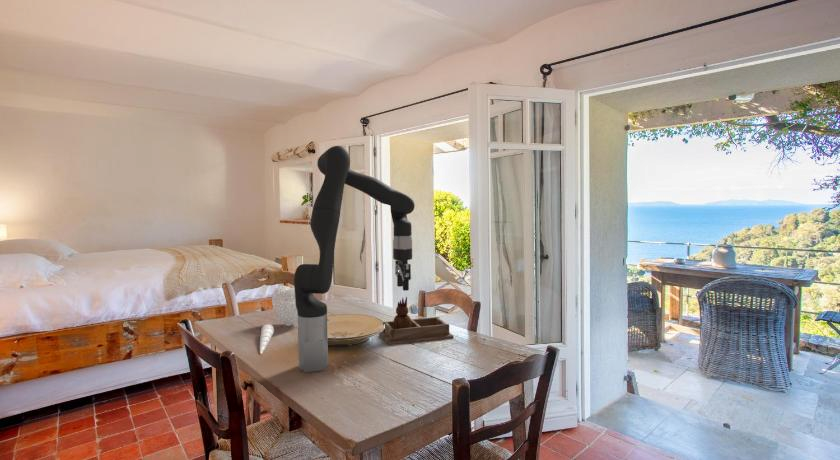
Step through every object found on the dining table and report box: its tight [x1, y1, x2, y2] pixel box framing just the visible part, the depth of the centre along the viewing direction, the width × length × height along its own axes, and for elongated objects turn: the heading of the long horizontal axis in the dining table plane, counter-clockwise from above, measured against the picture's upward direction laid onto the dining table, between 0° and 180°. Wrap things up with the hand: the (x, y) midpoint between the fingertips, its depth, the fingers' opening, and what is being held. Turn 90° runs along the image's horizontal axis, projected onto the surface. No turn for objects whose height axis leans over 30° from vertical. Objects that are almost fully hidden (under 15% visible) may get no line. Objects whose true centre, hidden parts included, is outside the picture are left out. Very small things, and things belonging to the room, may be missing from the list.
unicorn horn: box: [259, 323, 275, 355], centre depth 154 cm, size 5×24×5 cm, turn 11°
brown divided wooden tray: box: [379, 316, 455, 346], centre depth 164 cm, size 16×26×5 cm, turn 108°
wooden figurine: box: [393, 295, 412, 329], centre depth 162 cm, size 7×6×15 cm
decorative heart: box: [271, 285, 298, 328], centre depth 178 cm, size 18×11×17 cm, turn 57°
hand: (402, 288), depth 161 cm, fingers open, 8 cm apart
